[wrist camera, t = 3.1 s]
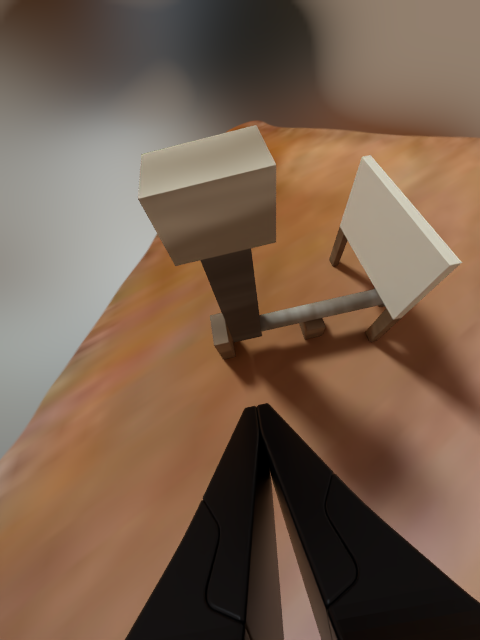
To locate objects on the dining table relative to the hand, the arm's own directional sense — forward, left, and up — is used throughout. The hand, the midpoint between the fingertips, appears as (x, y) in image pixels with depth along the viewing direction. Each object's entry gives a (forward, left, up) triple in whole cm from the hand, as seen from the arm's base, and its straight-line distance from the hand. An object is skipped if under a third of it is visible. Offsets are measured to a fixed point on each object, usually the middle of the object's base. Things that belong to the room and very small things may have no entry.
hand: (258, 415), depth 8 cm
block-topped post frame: (+4, -8, -10) cm, 14 cm away
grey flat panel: (+3, -15, -7) cm, 17 cm away
